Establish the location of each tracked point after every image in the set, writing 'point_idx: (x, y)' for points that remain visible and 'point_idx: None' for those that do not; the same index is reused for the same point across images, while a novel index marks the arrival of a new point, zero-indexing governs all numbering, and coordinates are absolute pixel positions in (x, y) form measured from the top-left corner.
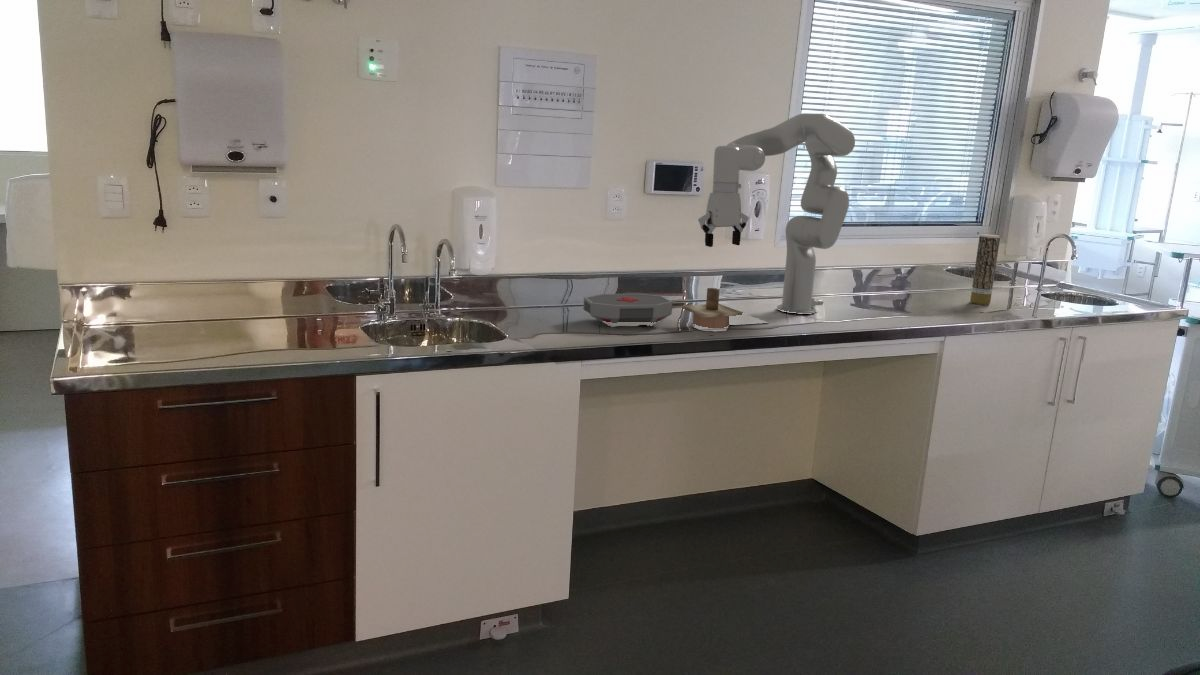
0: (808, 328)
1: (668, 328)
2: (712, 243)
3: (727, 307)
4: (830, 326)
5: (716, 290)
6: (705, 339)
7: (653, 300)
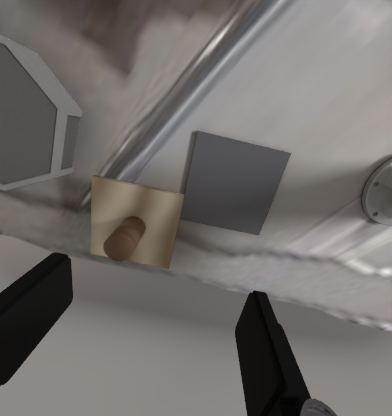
0: (282, 277)
1: (72, 181)
2: (54, 317)
3: (173, 229)
4: (322, 283)
5: (117, 260)
6: (92, 256)
7: (19, 138)
